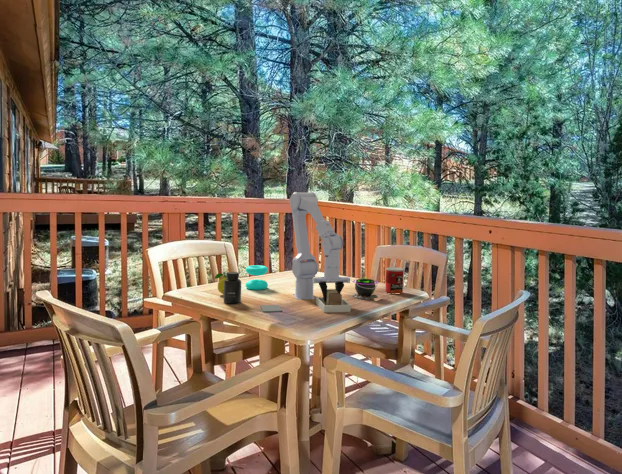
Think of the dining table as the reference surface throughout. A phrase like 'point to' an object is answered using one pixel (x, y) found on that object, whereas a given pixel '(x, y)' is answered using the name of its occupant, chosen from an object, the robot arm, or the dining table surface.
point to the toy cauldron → (365, 288)
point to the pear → (221, 282)
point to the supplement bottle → (232, 288)
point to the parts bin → (333, 306)
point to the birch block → (328, 295)
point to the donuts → (256, 283)
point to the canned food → (394, 280)
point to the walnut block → (335, 299)
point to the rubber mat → (271, 308)
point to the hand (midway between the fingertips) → (330, 301)
